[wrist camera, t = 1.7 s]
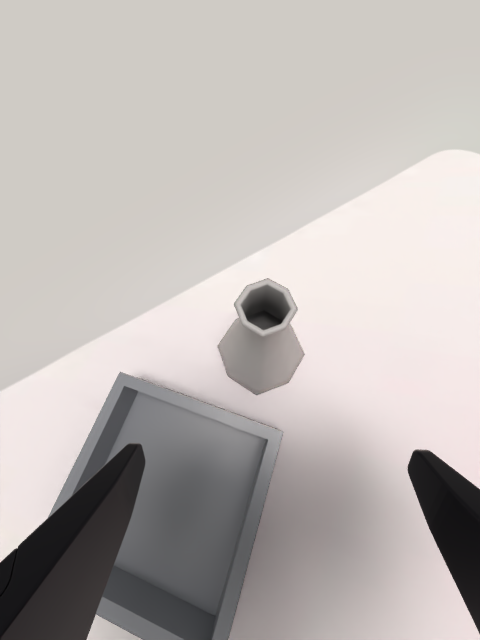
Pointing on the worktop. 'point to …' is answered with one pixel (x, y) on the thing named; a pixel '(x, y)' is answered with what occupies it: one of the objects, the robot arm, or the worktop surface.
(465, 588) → the robot arm
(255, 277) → the worktop surface
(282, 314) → the flask
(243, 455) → the box
